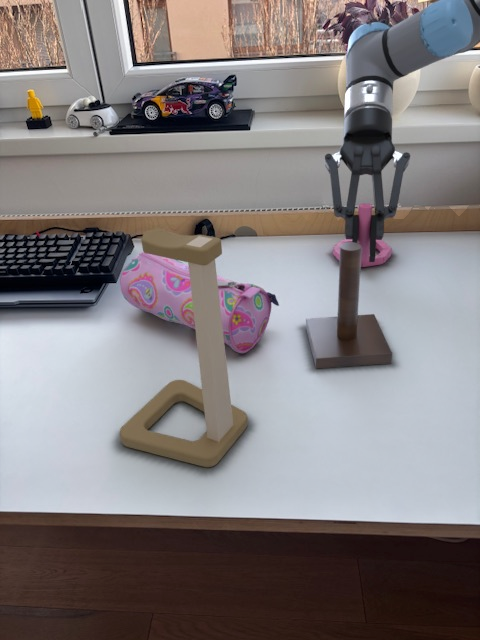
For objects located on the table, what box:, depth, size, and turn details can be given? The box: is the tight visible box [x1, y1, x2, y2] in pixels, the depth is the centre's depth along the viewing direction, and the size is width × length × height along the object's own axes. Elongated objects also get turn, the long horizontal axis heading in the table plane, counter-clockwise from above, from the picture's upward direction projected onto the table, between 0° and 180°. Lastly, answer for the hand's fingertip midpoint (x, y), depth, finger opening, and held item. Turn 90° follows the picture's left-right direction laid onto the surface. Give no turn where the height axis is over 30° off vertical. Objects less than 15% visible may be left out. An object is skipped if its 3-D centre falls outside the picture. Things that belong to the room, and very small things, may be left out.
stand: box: [305, 242, 393, 369], centre depth 65 cm, size 9×9×14 cm
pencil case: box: [119, 251, 280, 354], centre depth 72 cm, size 21×9×9 cm, turn 50°
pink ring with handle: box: [332, 202, 393, 268], centre depth 87 cm, size 9×10×10 cm
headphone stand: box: [119, 227, 249, 468], centre depth 51 cm, size 10×11×22 cm
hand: (363, 258), depth 82 cm, fingers closed on pink ring with handle, 2 cm apart
